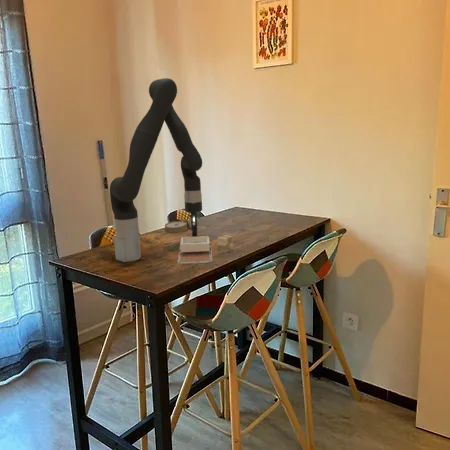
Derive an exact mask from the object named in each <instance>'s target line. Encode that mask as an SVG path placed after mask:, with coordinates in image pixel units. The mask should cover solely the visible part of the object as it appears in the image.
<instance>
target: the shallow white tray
mask: <svg viewBox="0 0 450 450" xmlns="http://www.w3.org/2000/svg"><path fill="white" fill-rule="evenodd" d="M209 245H211V246H212V243H211V242H210V235H204V236H203V235H201V236H198V235H197V236H196V237H192V236H181V239H180V243H179V249H180V248H181V250H179V249H178V250H179V251H178V253H179V252H199V251H211V248H210V246H209Z"/></svg>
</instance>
